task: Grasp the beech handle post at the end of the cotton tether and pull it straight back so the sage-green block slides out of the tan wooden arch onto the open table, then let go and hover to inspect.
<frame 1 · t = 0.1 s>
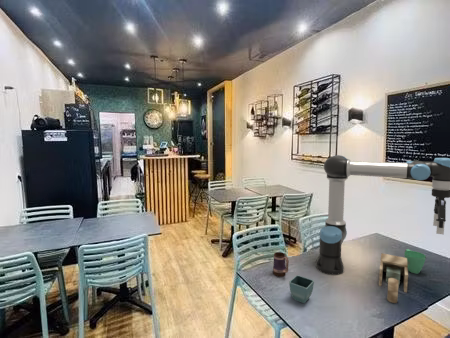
hand: (438, 229, 135), 28 cm above the table, fingers open, 13 cm apart
mug: (411, 269, 151), on the table
tethered block: (392, 280, 140), on the table
tan wooden arch: (392, 280, 140), on the table
flower pot: (301, 299, 125), on the table
mug 2: (281, 275, 147), on the table
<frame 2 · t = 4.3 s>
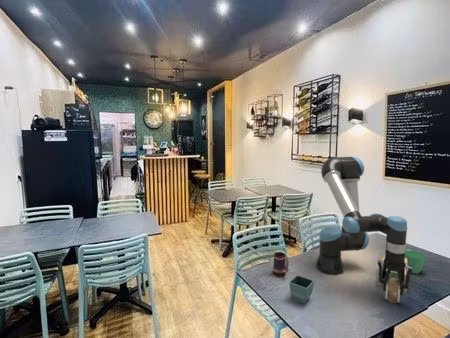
hand: (392, 299, 123), 1 cm above the table, fingers closed on tethered block, 4 cm apart
tethered block: (392, 280, 140), on the table, touching gripper
everything else where it was.
when the fingers open (1 cm above the table, at t = 8.2 s): tethered block stays where it is, on the table.
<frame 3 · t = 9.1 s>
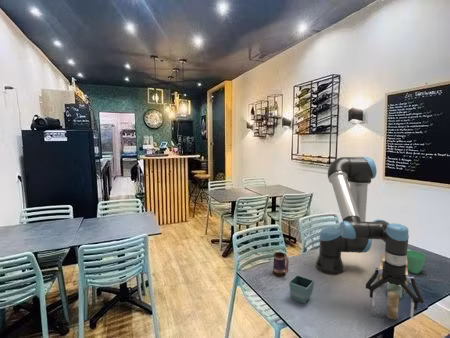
hand: (391, 310, 111), 3 cm above the table, fingers open, 13 cm apart
tethered block: (394, 293, 128), on the table
everything else where it was.
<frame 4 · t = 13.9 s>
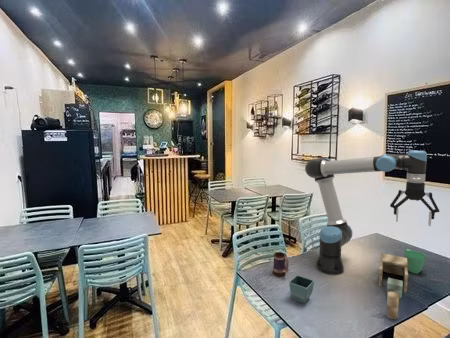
hand: (412, 223, 135), 32 cm above the table, fingers open, 13 cm apart
nothing on the table moved.
at the end: tethered block inside the target area (8.4 cm from its centre), on the table; tethered block moved 13.1 cm from its start; the gripper is holding nothing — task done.
